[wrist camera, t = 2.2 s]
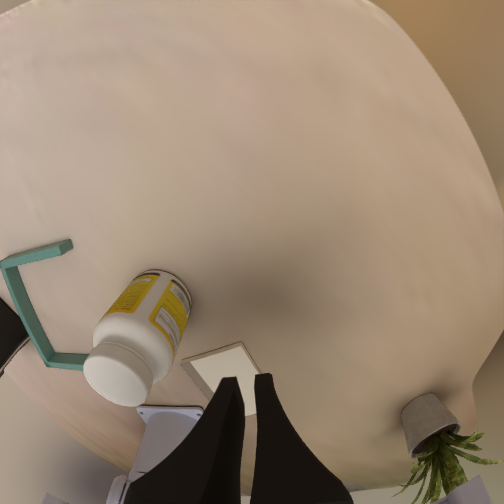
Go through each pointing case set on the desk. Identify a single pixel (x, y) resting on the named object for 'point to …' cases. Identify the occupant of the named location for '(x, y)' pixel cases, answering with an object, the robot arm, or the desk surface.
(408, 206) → the desk surface
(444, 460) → the house plant
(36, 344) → the bracket
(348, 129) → the desk surface
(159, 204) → the desk surface
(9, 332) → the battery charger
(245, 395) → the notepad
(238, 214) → the desk surface
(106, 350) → the supplement bottle
